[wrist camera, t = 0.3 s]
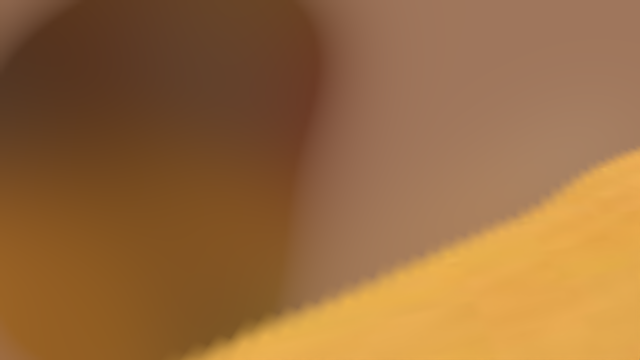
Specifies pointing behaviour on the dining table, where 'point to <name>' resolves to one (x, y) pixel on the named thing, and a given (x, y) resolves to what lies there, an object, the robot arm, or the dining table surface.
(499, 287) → the dining table surface
